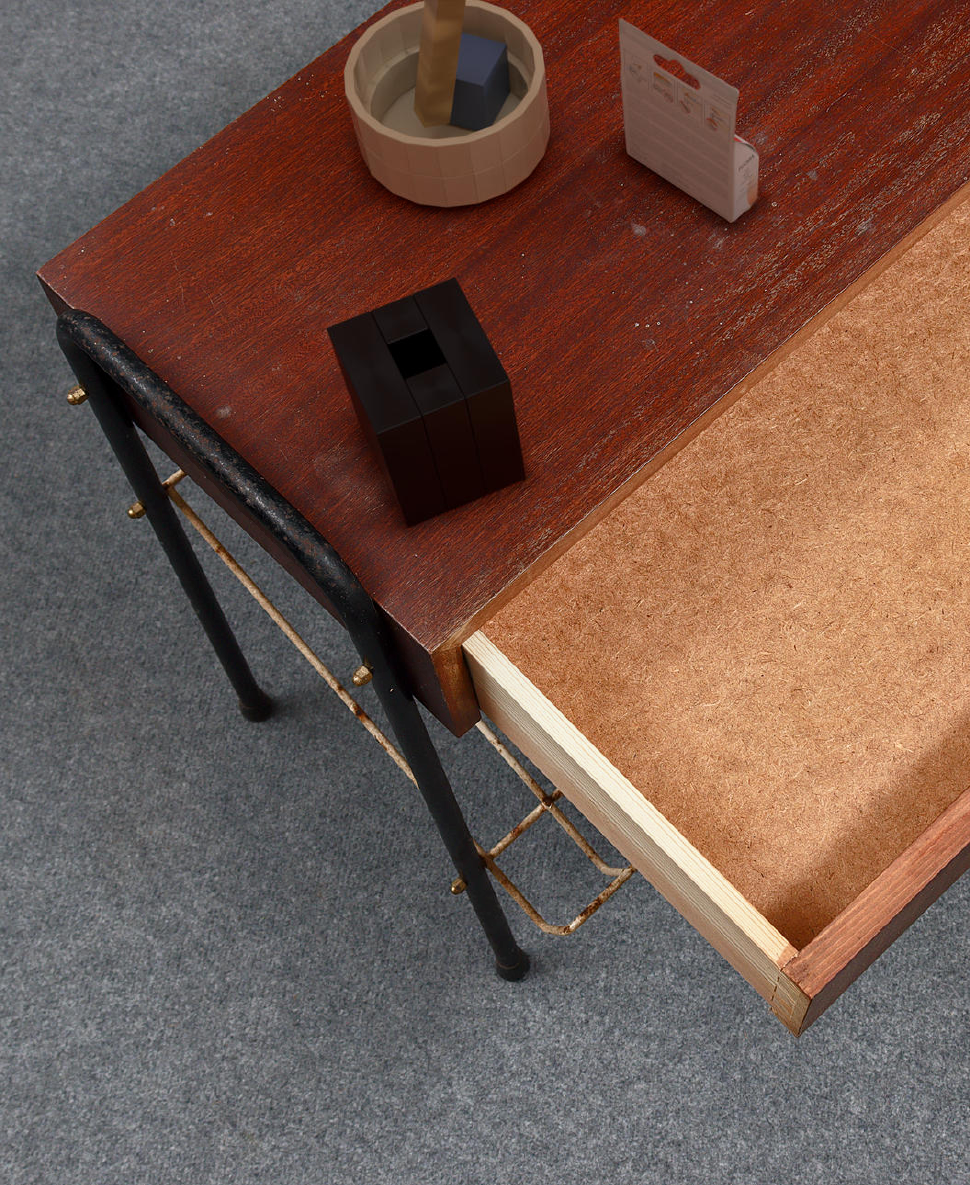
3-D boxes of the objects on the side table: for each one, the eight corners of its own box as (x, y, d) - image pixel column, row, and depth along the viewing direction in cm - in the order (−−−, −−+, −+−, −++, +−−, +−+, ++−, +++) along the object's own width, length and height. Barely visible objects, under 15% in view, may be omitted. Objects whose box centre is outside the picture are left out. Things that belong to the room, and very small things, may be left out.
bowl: (403, 239, 88) (387, 173, 83) (335, 109, 93) (316, 38, 88) (581, 171, 90) (576, 101, 85) (504, 46, 95) (496, -27, 90)
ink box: (647, 131, 91) (647, -13, 81) (757, 203, 88) (771, 63, 78) (618, 157, 90) (614, 15, 80) (728, 230, 87) (738, 92, 77)
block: (431, 118, 91) (424, 70, 88) (454, 77, 93) (449, 28, 89) (487, 134, 91) (483, 86, 87) (510, 92, 92) (506, 43, 89)
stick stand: (407, 529, 79) (376, 434, 70) (361, 429, 82) (325, 327, 73) (526, 478, 80) (510, 379, 71) (476, 382, 83) (455, 276, 74)
